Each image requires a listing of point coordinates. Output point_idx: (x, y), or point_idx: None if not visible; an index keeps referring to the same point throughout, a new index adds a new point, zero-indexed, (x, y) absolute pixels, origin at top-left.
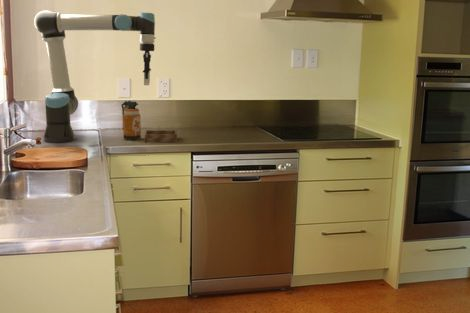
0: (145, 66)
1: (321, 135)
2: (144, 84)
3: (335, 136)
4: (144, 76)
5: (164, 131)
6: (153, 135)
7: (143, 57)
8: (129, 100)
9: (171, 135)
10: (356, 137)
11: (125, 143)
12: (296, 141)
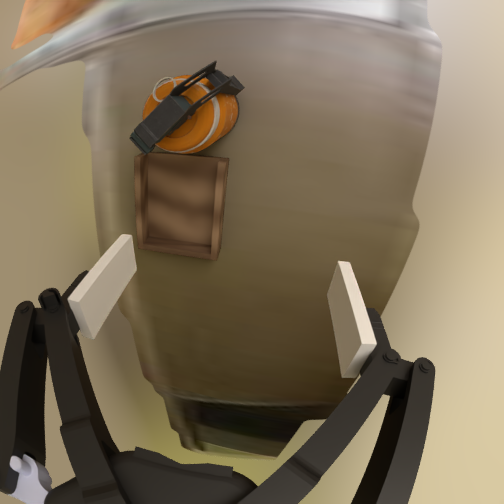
0: (13, 344)
1: (226, 433)
2: (119, 240)
3: (217, 437)
4: (87, 278)
5: (213, 223)
6: (135, 182)
7: (104, 488)
8: (190, 106)
9: (138, 233)
10: (209, 444)
11: (137, 94)
12: (176, 405)
